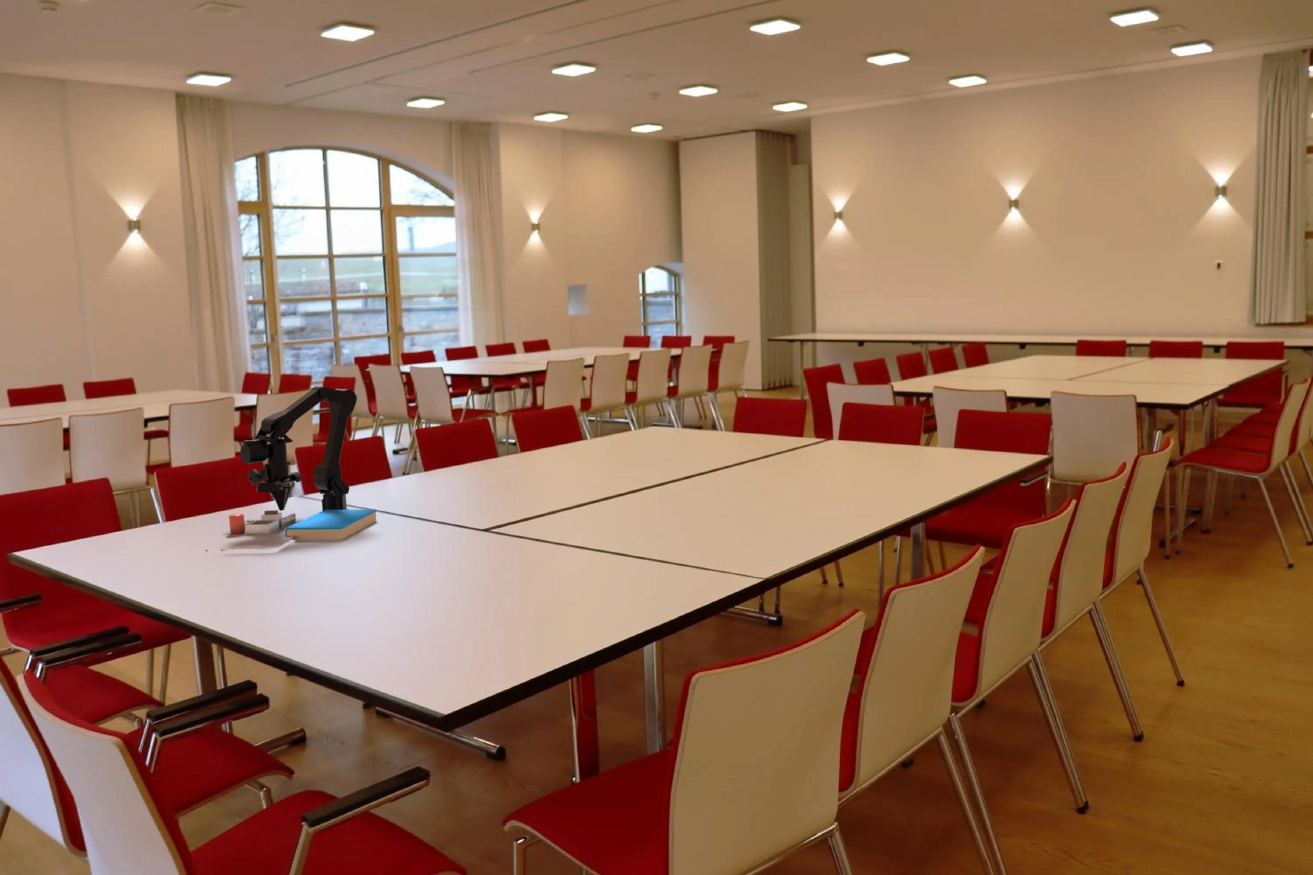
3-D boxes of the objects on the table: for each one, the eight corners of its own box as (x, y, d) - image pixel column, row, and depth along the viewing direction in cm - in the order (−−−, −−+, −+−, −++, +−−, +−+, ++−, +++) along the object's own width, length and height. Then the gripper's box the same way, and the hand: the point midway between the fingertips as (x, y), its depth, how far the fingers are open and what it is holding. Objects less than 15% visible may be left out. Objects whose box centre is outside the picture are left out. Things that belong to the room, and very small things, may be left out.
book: (376, 509, 326) (342, 526, 301) (377, 523, 326) (343, 541, 302) (322, 509, 328) (284, 526, 303) (323, 523, 329) (285, 541, 304)
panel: (303, 522, 327) (302, 510, 326) (275, 537, 307) (274, 525, 307) (252, 523, 328) (251, 511, 328) (221, 538, 308) (220, 526, 308)
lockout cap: (247, 530, 313) (246, 513, 312) (241, 533, 309) (239, 516, 308) (234, 530, 313) (232, 513, 312) (227, 533, 309) (226, 516, 309)
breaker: (282, 524, 320) (281, 509, 319) (276, 527, 316) (275, 512, 315) (267, 524, 320) (266, 509, 319) (262, 527, 316) (260, 512, 315)
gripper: (264, 454, 332) (269, 504, 335) (236, 464, 314) (241, 517, 316) (299, 453, 332) (304, 503, 334) (274, 463, 313) (278, 516, 315)
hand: (281, 510), depth 325 cm, fingers closed
